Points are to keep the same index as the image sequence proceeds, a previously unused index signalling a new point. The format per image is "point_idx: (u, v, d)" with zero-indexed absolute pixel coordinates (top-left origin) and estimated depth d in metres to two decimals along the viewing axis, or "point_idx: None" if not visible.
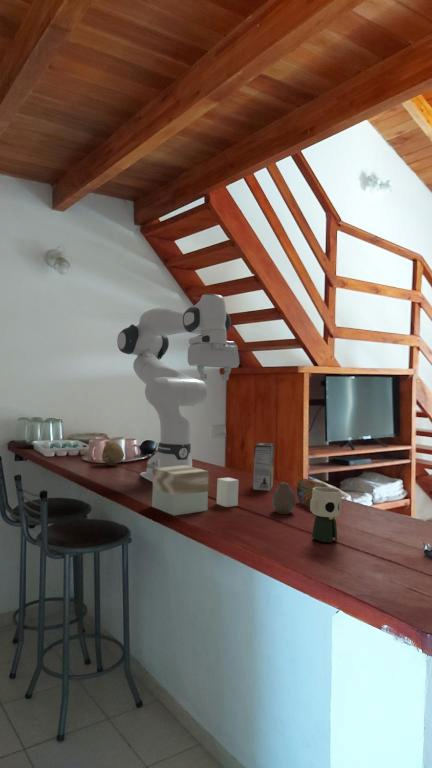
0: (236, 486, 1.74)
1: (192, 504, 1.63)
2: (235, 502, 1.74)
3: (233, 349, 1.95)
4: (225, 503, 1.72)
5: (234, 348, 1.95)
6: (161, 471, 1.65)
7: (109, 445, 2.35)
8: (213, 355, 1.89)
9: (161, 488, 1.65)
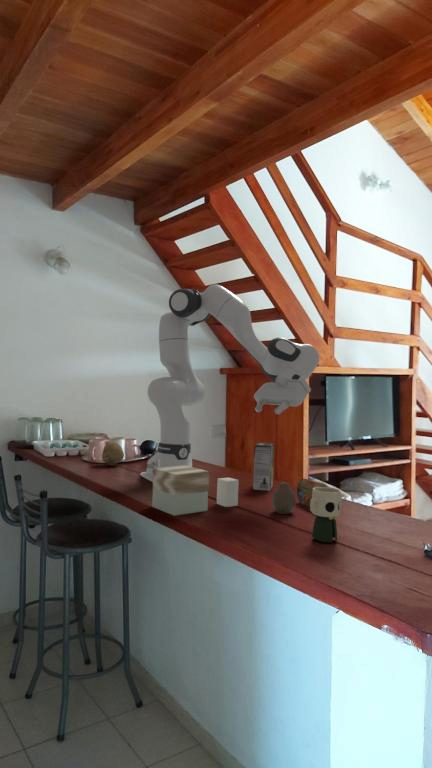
0: (236, 486, 1.74)
1: (192, 504, 1.63)
2: (235, 502, 1.74)
3: None
4: (225, 503, 1.72)
5: None
6: (161, 471, 1.65)
7: (109, 445, 2.35)
8: None
9: (161, 488, 1.64)
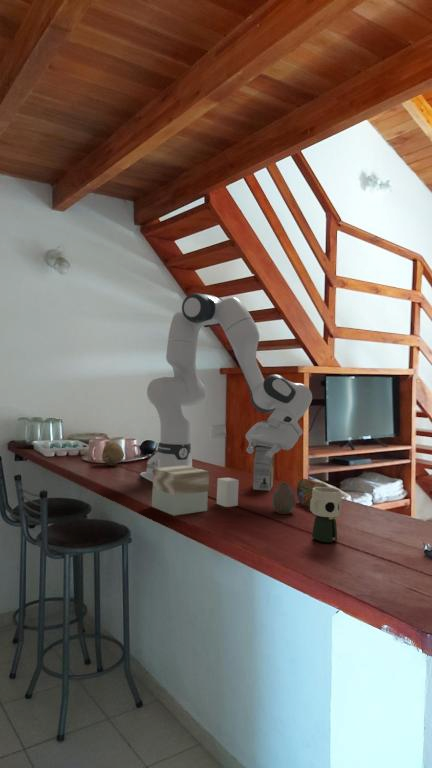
0: (236, 486, 1.74)
1: (192, 504, 1.63)
2: (235, 502, 1.74)
3: None
4: (225, 503, 1.72)
5: None
6: (161, 471, 1.65)
7: (109, 445, 2.35)
8: None
9: (161, 488, 1.65)
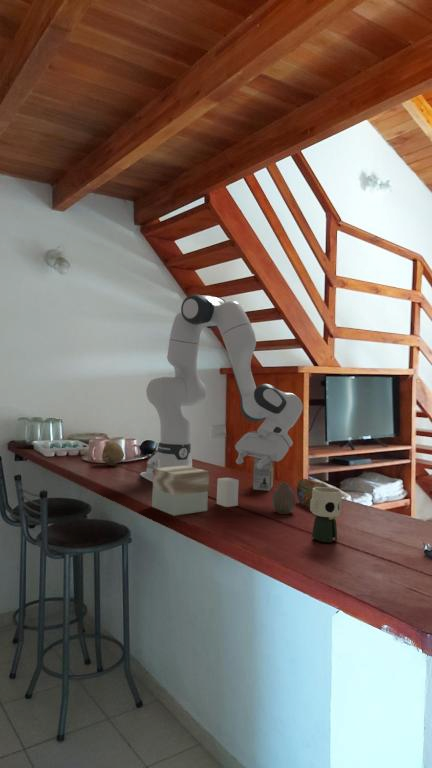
0: (236, 486, 1.74)
1: (192, 504, 1.63)
2: (235, 502, 1.74)
3: None
4: (225, 503, 1.72)
5: None
6: (161, 471, 1.65)
7: (109, 445, 2.35)
8: None
9: (161, 488, 1.65)
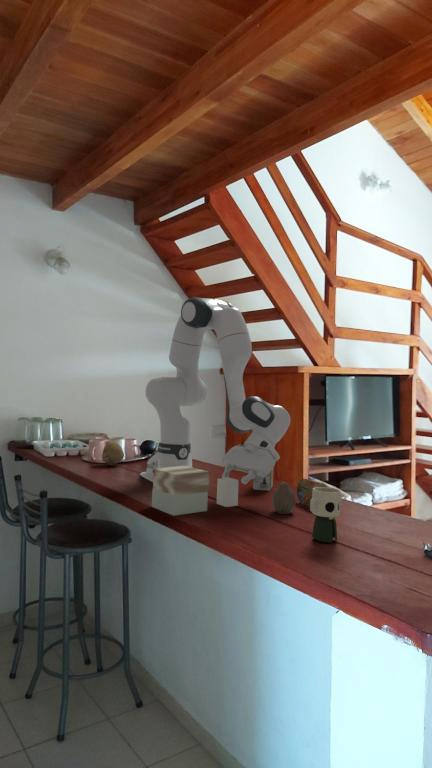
0: (236, 486, 1.74)
1: (192, 504, 1.63)
2: (235, 502, 1.74)
3: None
4: (225, 503, 1.72)
5: None
6: (161, 472, 1.65)
7: (109, 445, 2.35)
8: None
9: (162, 489, 1.65)
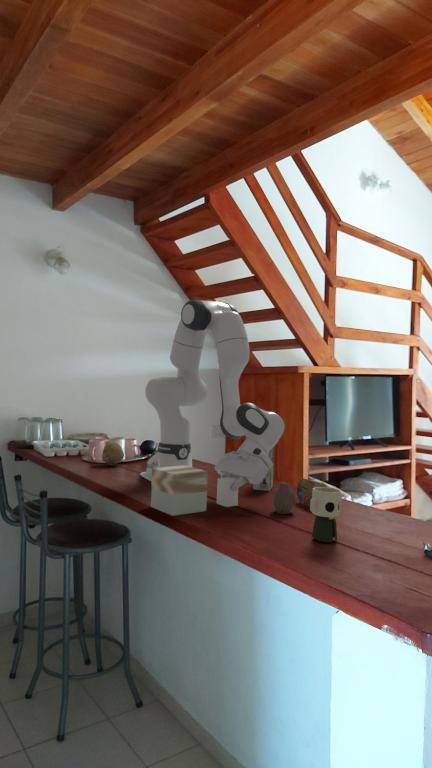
0: None
1: (191, 504, 1.63)
2: (235, 502, 1.74)
3: None
4: (225, 503, 1.72)
5: None
6: (160, 471, 1.65)
7: (109, 445, 2.35)
8: None
9: (160, 488, 1.64)
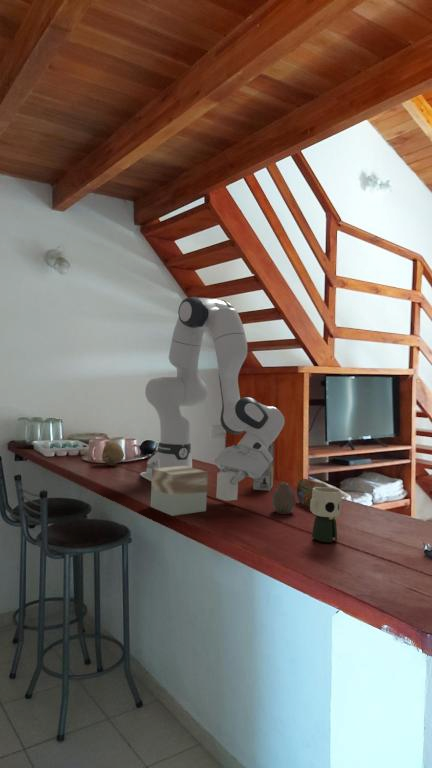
0: None
1: (191, 504, 1.63)
2: (235, 496, 1.74)
3: None
4: (225, 497, 1.72)
5: None
6: (160, 472, 1.64)
7: (109, 445, 2.35)
8: None
9: (160, 489, 1.64)
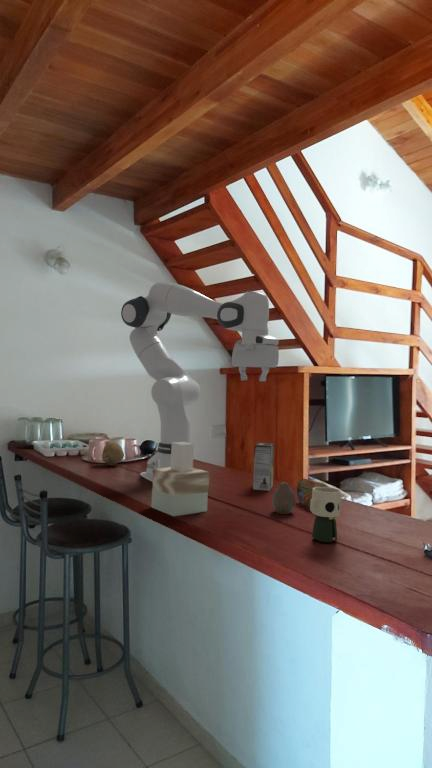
0: (191, 450, 1.66)
1: (192, 504, 1.62)
2: (190, 467, 1.66)
3: None
4: (179, 468, 1.64)
5: None
6: (161, 472, 1.64)
7: (109, 445, 2.35)
8: None
9: (161, 489, 1.64)
